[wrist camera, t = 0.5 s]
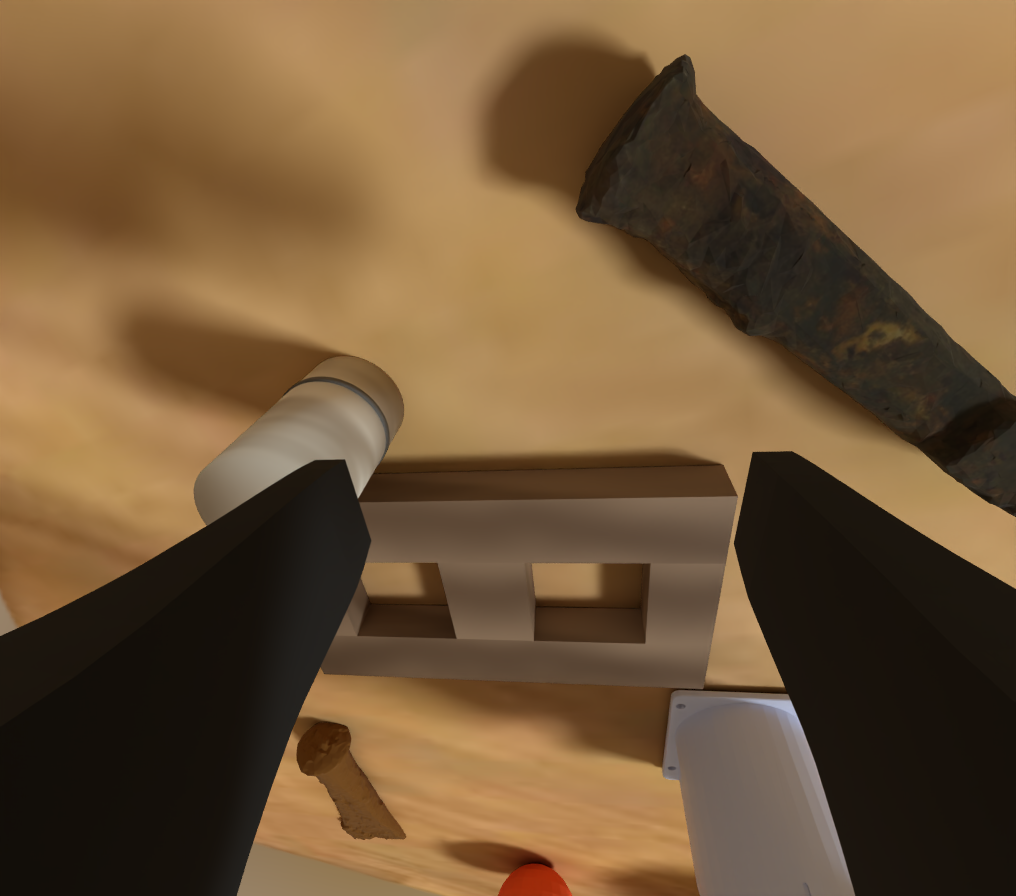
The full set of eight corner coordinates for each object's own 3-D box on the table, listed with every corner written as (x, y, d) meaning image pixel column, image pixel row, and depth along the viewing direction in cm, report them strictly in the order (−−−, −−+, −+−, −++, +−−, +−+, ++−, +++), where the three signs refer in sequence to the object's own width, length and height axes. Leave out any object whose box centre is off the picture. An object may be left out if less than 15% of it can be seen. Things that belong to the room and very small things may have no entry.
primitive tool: (409, 833, 44) (397, 882, 41) (351, 827, 45) (336, 875, 42) (356, 716, 34) (335, 771, 31) (283, 710, 35) (256, 764, 32)
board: (694, 652, 26) (703, 689, 24) (338, 642, 29) (324, 673, 27) (723, 465, 19) (737, 496, 18) (262, 476, 22) (237, 504, 21)
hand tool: (564, 191, 15) (562, 212, 11) (660, 56, 13) (697, 25, 9) (925, 504, 20) (1011, 595, 16) (1035, 440, 18) (1165, 526, 14)
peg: (414, 443, 20) (351, 567, 15) (323, 447, 21) (228, 567, 15) (392, 351, 18) (307, 453, 12) (291, 358, 19) (165, 457, 13)
